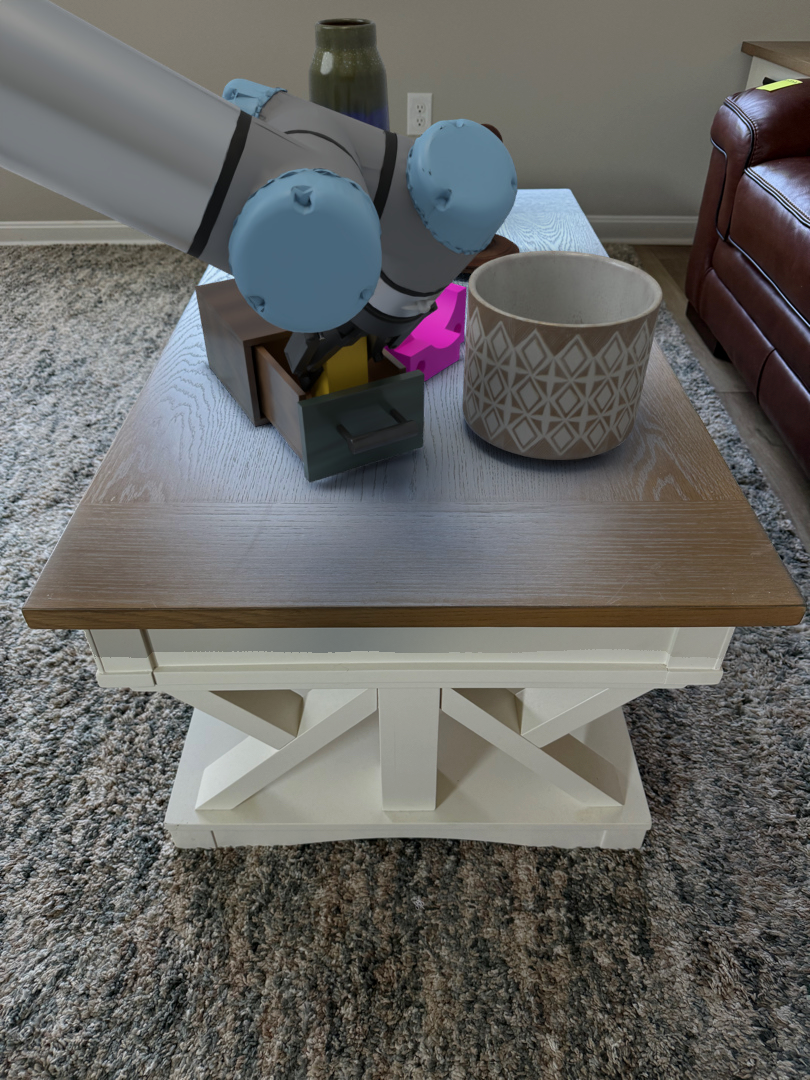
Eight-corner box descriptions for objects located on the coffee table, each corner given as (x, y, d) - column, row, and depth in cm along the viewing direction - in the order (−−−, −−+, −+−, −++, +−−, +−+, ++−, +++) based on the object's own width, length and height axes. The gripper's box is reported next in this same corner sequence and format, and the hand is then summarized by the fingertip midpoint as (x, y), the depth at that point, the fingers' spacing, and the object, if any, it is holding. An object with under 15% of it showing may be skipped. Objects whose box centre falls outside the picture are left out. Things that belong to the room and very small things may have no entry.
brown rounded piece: (505, 288, 120) (516, 145, 107) (414, 275, 124) (414, 136, 111) (527, 254, 130) (541, 121, 117) (443, 244, 134) (447, 113, 121)
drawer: (444, 468, 82) (447, 393, 76) (327, 506, 77) (321, 429, 71) (359, 385, 95) (356, 316, 89) (254, 413, 90) (244, 342, 84)
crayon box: (331, 432, 82) (324, 334, 75) (312, 410, 86) (303, 315, 79) (369, 421, 84) (366, 324, 77) (349, 400, 87) (344, 306, 80)
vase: (302, 241, 135) (284, 26, 115) (331, 216, 145) (319, 14, 125) (379, 250, 132) (374, 30, 112) (403, 223, 142) (402, 17, 122)
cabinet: (369, 395, 95) (366, 312, 88) (255, 426, 89) (242, 340, 83) (313, 341, 106) (306, 263, 99) (208, 366, 101) (194, 286, 94)
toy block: (410, 390, 96) (410, 333, 91) (371, 375, 99) (369, 319, 94) (479, 346, 105) (482, 292, 100) (441, 333, 108) (443, 280, 103)
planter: (666, 451, 85) (703, 307, 75) (507, 488, 80) (522, 339, 70) (576, 372, 99) (597, 241, 89) (435, 399, 94) (439, 263, 84)
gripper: (311, 344, 60) (260, 427, 82) (500, 298, 67) (406, 387, 88) (277, 253, 60) (235, 360, 82) (469, 216, 67) (383, 324, 89)
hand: (324, 374), depth 85 cm, fingers closed on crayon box, 4 cm apart
